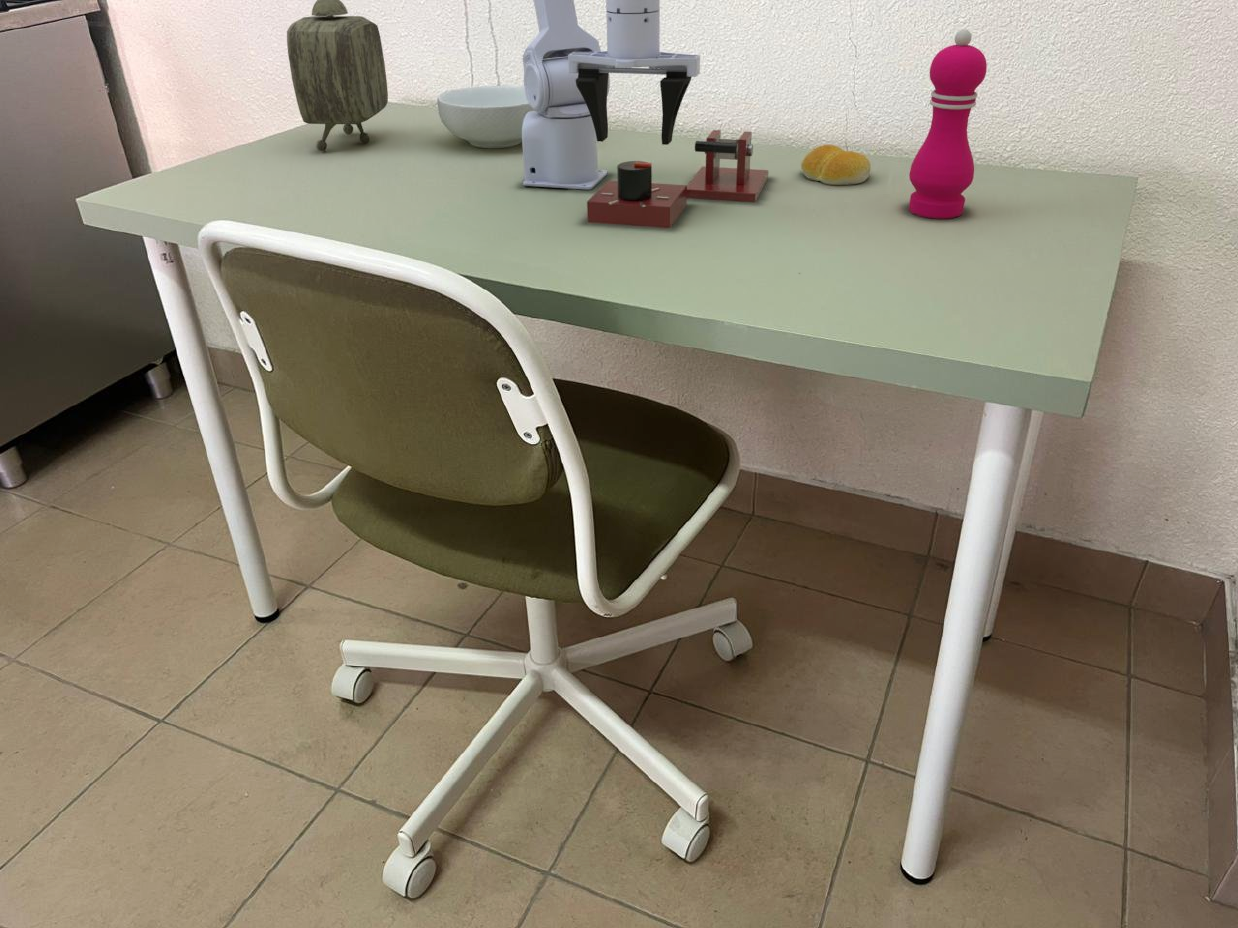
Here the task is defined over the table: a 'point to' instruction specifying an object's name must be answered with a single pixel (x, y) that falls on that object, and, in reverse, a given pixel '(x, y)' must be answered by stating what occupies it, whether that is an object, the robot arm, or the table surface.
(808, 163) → the bread roll
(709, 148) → the toaster lever
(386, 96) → the tabletop clock
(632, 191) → the knob
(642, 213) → the panel
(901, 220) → the table surface
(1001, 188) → the table surface
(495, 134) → the cereal bowl
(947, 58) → the pepper mill
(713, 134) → the red lever base
